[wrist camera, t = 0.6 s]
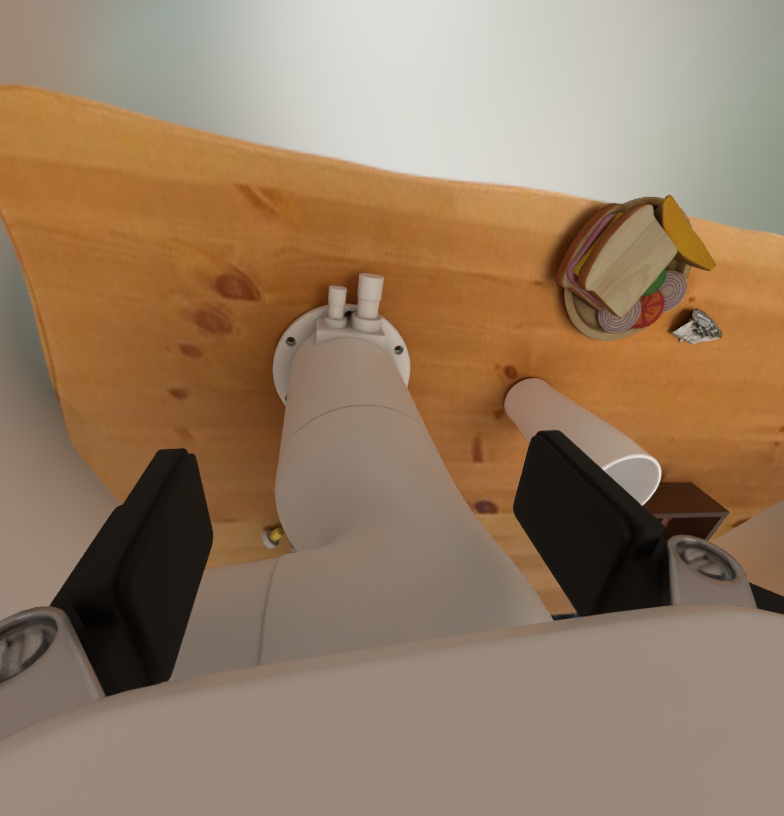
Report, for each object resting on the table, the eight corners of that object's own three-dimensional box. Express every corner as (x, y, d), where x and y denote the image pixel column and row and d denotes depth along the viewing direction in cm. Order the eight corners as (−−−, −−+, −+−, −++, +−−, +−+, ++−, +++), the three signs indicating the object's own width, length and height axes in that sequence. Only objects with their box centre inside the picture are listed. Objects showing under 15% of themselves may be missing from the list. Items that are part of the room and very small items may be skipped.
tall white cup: (522, 359, 39) (626, 441, 26) (566, 385, 41) (680, 471, 28) (483, 411, 41) (561, 510, 28) (527, 432, 43) (616, 532, 31)
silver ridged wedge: (690, 302, 38) (658, 316, 40) (696, 322, 37) (663, 336, 40) (717, 319, 41) (686, 331, 43) (724, 338, 40) (692, 349, 42)
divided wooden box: (573, 482, 49) (603, 515, 44) (691, 482, 53) (730, 512, 49) (547, 537, 54) (571, 572, 49) (657, 533, 58) (690, 564, 53)
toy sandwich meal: (601, 359, 40) (633, 377, 36) (525, 274, 34) (553, 284, 30) (704, 263, 37) (752, 271, 32) (639, 152, 31) (687, 144, 27)
